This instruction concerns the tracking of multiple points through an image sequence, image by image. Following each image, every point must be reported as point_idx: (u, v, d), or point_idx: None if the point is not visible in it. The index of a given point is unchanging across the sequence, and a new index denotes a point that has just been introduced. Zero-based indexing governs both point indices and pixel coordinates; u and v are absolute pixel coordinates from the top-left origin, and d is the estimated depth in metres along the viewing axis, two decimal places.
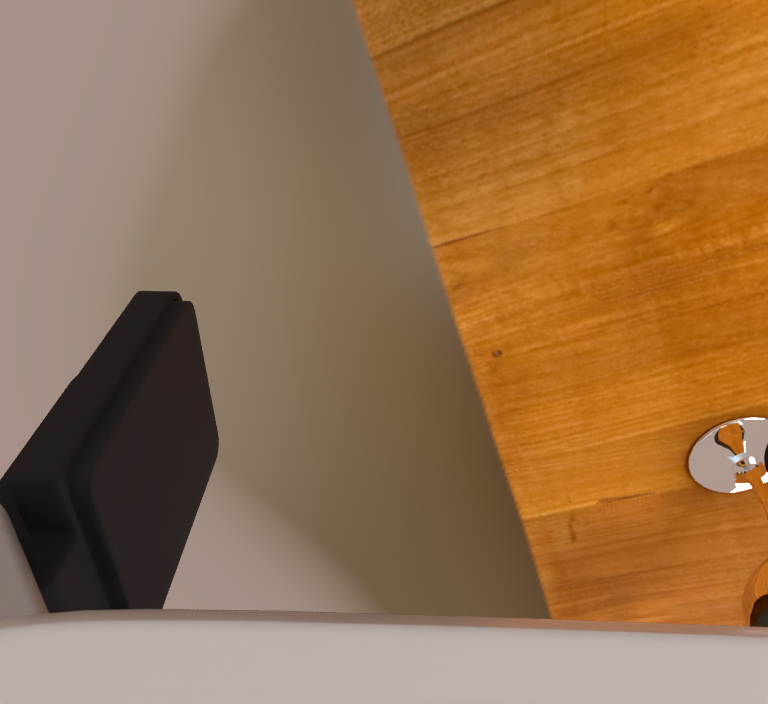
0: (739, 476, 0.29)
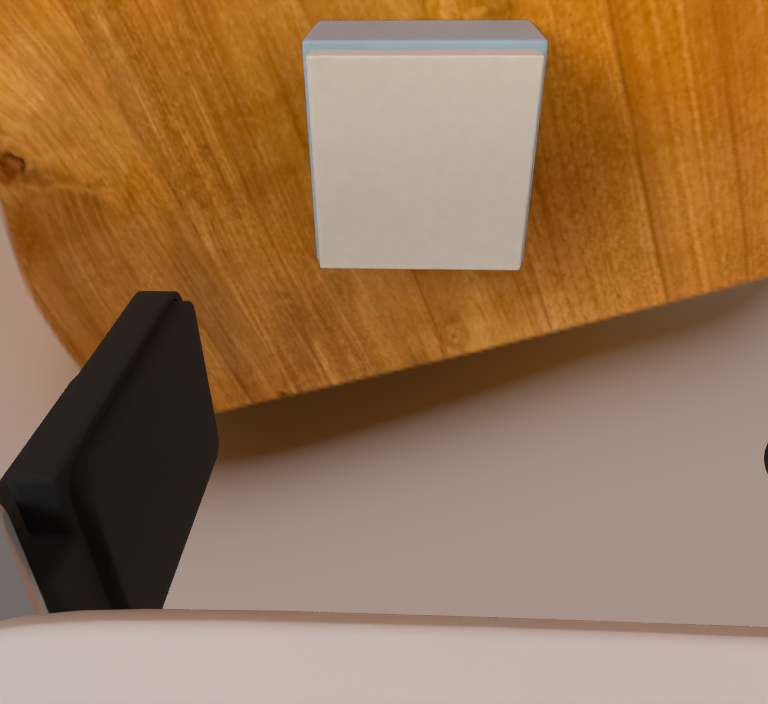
0: None
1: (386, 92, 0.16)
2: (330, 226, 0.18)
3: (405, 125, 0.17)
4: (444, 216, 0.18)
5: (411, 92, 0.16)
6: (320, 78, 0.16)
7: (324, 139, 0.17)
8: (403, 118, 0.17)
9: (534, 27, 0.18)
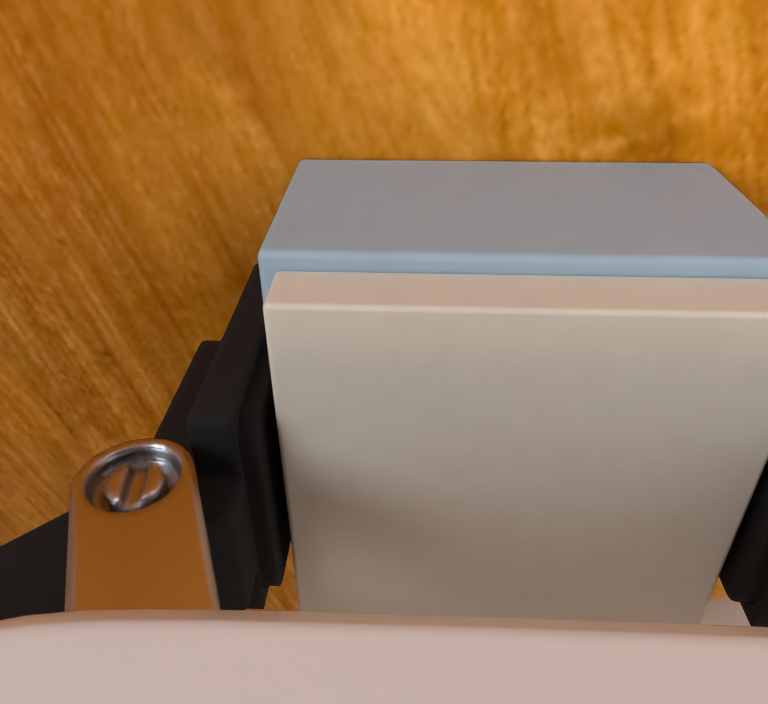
0: None
1: (446, 376, 0.07)
2: (321, 580, 0.09)
3: (484, 433, 0.08)
4: (551, 573, 0.09)
5: (503, 377, 0.07)
6: (296, 347, 0.07)
7: (307, 451, 0.08)
8: (481, 420, 0.08)
9: (741, 195, 0.09)
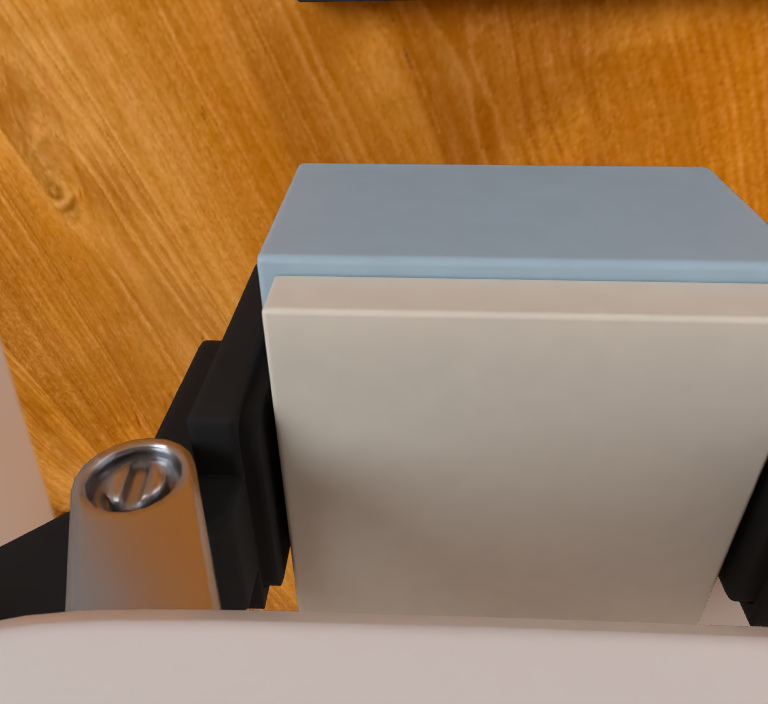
0: None
1: (445, 381, 0.07)
2: (320, 583, 0.09)
3: (483, 436, 0.08)
4: (550, 576, 0.09)
5: (502, 382, 0.07)
6: (295, 352, 0.07)
7: (306, 455, 0.08)
8: (479, 424, 0.08)
9: (739, 200, 0.09)
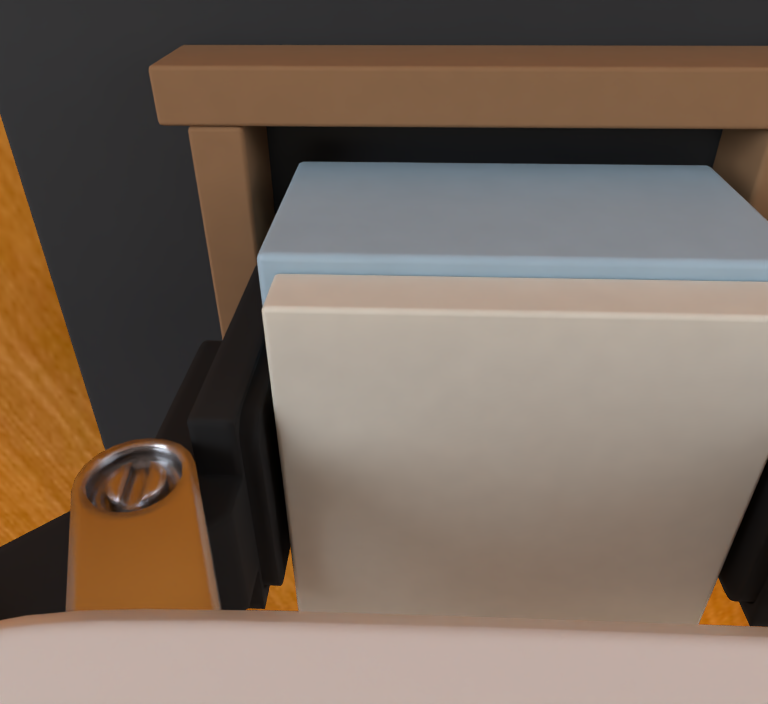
0: None
1: (446, 380, 0.07)
2: (320, 582, 0.09)
3: (483, 435, 0.08)
4: (551, 576, 0.09)
5: (502, 380, 0.07)
6: (295, 350, 0.07)
7: (306, 453, 0.08)
8: (480, 423, 0.08)
9: (740, 198, 0.09)
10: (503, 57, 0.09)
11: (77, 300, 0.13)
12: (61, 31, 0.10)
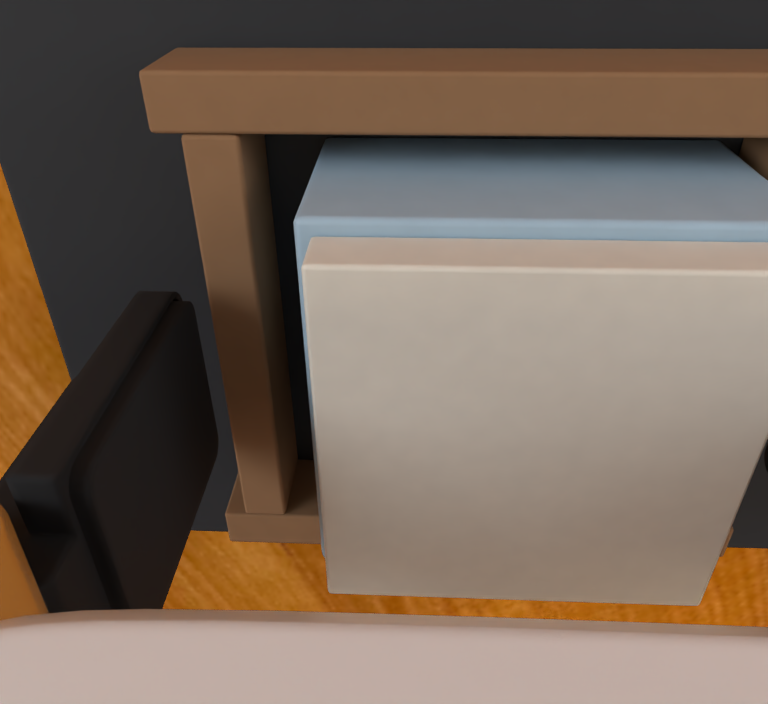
0: None
1: (474, 335, 0.08)
2: (348, 539, 0.10)
3: (508, 390, 0.08)
4: (569, 531, 0.09)
5: (528, 335, 0.08)
6: (332, 307, 0.07)
7: (339, 409, 0.08)
8: (505, 378, 0.08)
9: (751, 169, 0.09)
10: (514, 61, 0.09)
11: (68, 312, 0.12)
12: (49, 33, 0.10)
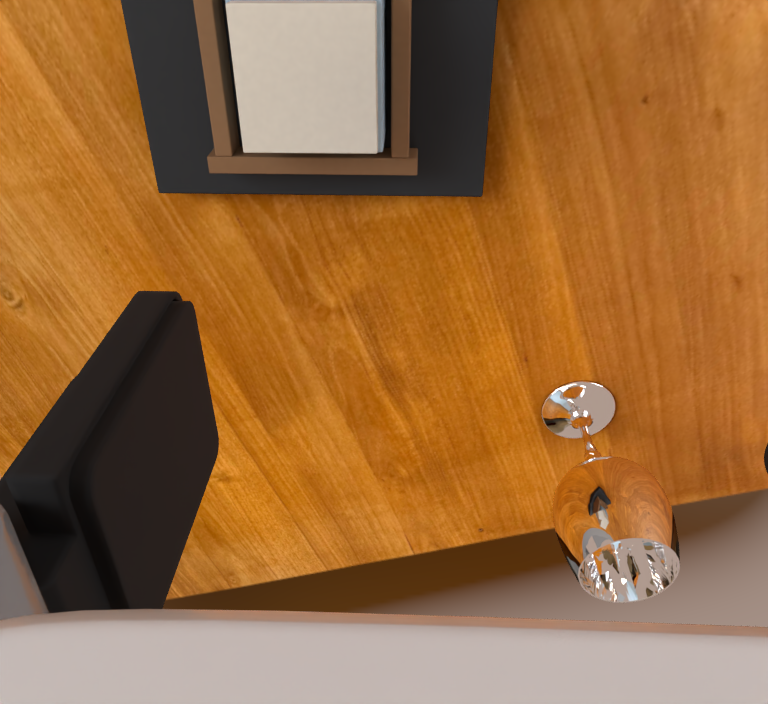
0: None
1: (278, 28, 0.25)
2: (248, 121, 0.27)
3: (291, 50, 0.26)
4: (322, 114, 0.27)
5: (293, 27, 0.25)
6: (235, 18, 0.25)
7: (240, 59, 0.26)
8: (290, 45, 0.26)
9: None
10: None
11: (142, 67, 0.30)
12: None
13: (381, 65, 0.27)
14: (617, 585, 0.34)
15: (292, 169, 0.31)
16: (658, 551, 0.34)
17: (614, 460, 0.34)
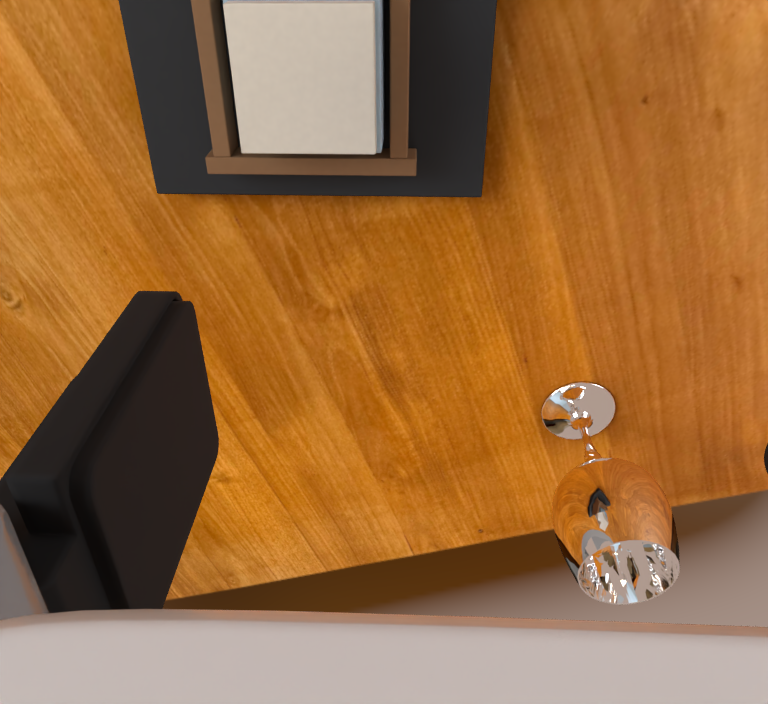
0: None
1: (275, 28, 0.25)
2: (246, 122, 0.27)
3: (289, 50, 0.26)
4: (321, 114, 0.27)
5: (291, 27, 0.25)
6: (232, 18, 0.25)
7: (238, 60, 0.26)
8: (288, 45, 0.26)
9: None
10: None
11: (140, 68, 0.30)
12: None
13: (379, 65, 0.27)
14: (617, 587, 0.34)
15: (290, 170, 0.31)
16: (658, 553, 0.34)
17: (614, 461, 0.34)
